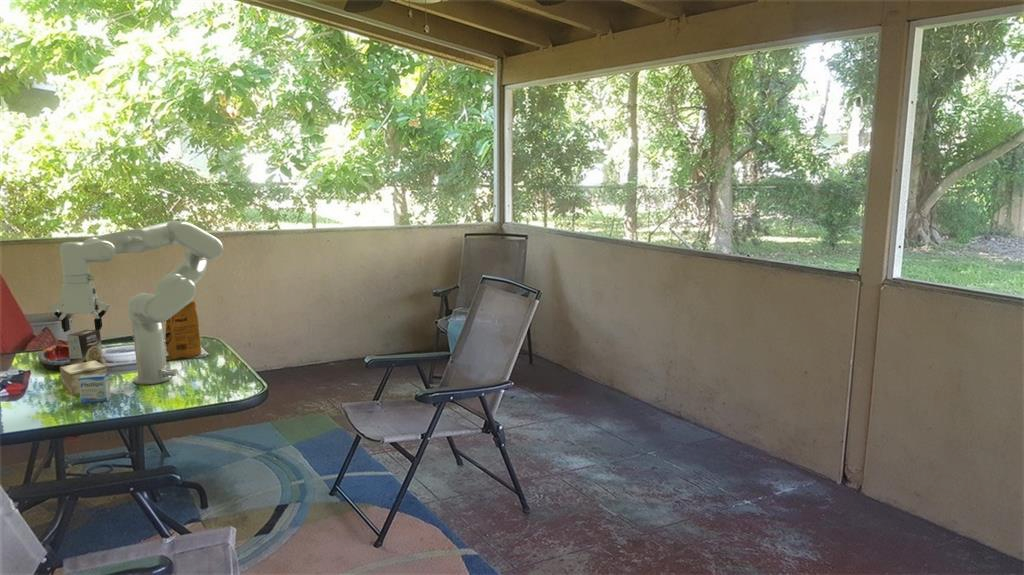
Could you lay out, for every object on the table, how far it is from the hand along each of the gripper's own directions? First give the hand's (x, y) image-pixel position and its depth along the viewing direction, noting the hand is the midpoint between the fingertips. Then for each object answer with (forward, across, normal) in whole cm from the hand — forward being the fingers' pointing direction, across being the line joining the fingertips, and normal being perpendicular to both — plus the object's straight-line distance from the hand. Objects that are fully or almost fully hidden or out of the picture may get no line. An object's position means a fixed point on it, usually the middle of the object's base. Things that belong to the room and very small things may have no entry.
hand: (82, 330), depth 233 cm
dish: (+23, +27, -44) cm, 57 cm away
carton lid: (+15, +5, -8) cm, 18 cm away
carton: (+22, +4, -8) cm, 24 cm away
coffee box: (+23, +10, -26) cm, 36 cm away
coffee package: (+22, -17, -47) cm, 55 cm away
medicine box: (+23, -4, +6) cm, 24 cm away
